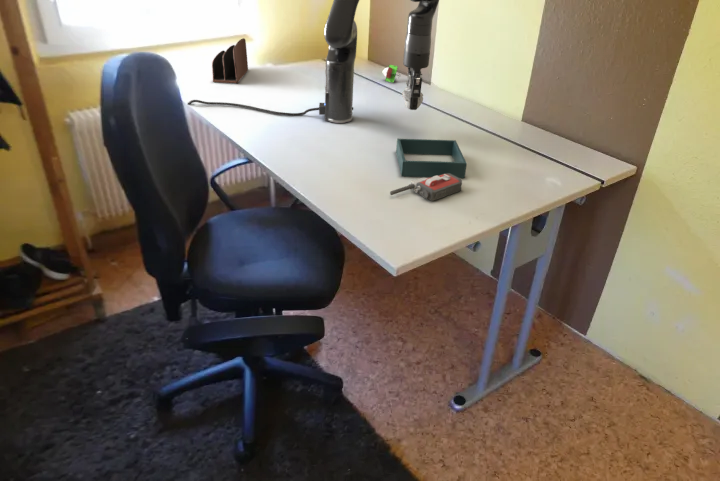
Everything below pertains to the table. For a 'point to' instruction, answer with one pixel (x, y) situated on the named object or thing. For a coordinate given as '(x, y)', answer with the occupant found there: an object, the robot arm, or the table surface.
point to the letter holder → (230, 64)
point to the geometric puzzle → (390, 73)
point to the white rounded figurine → (407, 97)
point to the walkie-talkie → (434, 186)
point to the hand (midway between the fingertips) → (411, 105)
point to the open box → (430, 167)
